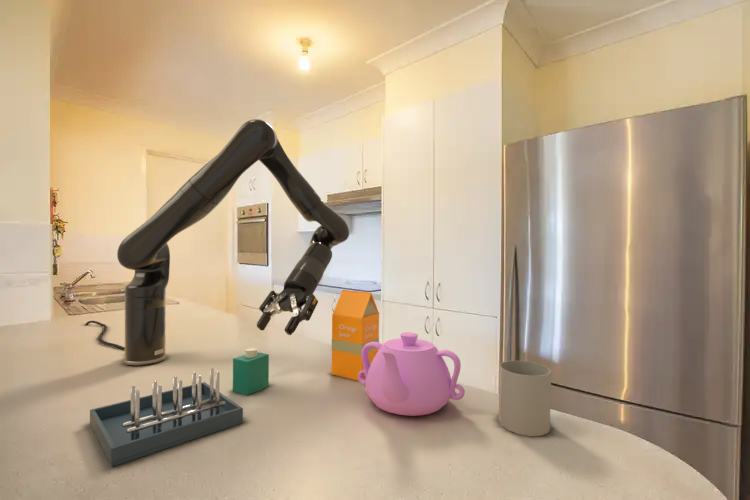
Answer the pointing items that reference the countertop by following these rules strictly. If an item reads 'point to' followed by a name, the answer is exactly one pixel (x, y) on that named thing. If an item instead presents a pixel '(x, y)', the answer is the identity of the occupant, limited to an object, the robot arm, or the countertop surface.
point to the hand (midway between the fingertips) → (273, 330)
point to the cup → (524, 397)
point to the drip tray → (119, 441)
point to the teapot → (409, 376)
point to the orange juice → (353, 332)
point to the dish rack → (157, 406)
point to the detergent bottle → (250, 372)
